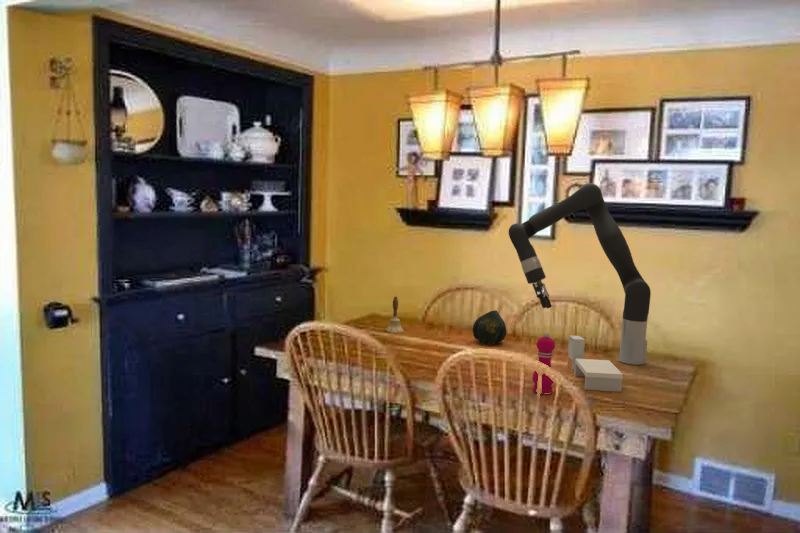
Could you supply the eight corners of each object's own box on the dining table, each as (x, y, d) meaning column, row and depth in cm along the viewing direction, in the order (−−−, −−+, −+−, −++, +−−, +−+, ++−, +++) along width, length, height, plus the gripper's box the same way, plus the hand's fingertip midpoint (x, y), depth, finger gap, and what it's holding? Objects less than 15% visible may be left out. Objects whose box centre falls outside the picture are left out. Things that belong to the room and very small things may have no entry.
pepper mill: (554, 396, 208) (558, 335, 206) (531, 393, 210) (535, 333, 207) (553, 389, 215) (557, 331, 213) (531, 387, 217) (535, 329, 214)
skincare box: (566, 365, 246) (568, 335, 245) (577, 366, 246) (579, 335, 245) (572, 370, 240) (574, 339, 239) (583, 370, 240) (585, 339, 239)
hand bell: (403, 333, 291) (404, 298, 289) (385, 332, 291) (386, 297, 289) (403, 329, 299) (405, 295, 297) (385, 328, 299) (387, 294, 297)
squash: (463, 331, 273) (488, 307, 270) (469, 326, 288) (493, 303, 284) (487, 356, 271) (512, 332, 268) (491, 349, 286) (516, 326, 282)
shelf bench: (607, 376, 234) (609, 360, 233) (621, 391, 216) (622, 374, 215) (574, 374, 234) (575, 358, 234) (585, 389, 217) (586, 372, 216)
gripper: (538, 265, 252) (553, 304, 248) (544, 267, 265) (559, 304, 262) (520, 272, 254) (535, 310, 251) (527, 274, 267) (541, 311, 264)
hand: (547, 307), depth 256 cm, fingers open, 8 cm apart
